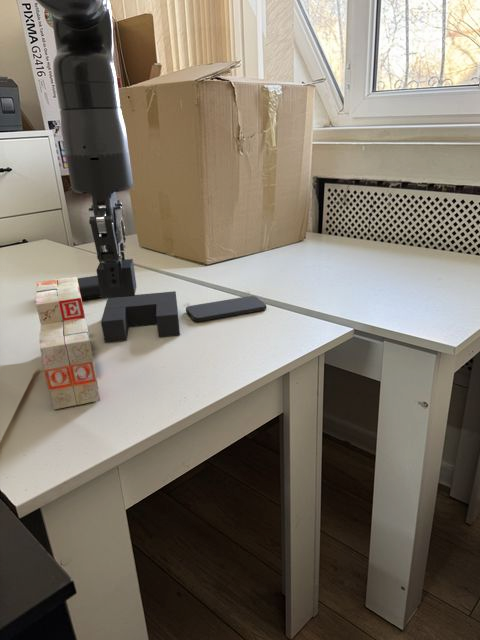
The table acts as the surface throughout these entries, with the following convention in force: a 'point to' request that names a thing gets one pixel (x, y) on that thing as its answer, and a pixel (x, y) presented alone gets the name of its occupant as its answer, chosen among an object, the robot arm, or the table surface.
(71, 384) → the stack of blocks
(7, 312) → the table surface
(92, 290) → the carrying case
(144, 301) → the notched block
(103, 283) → the square block
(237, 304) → the phone
